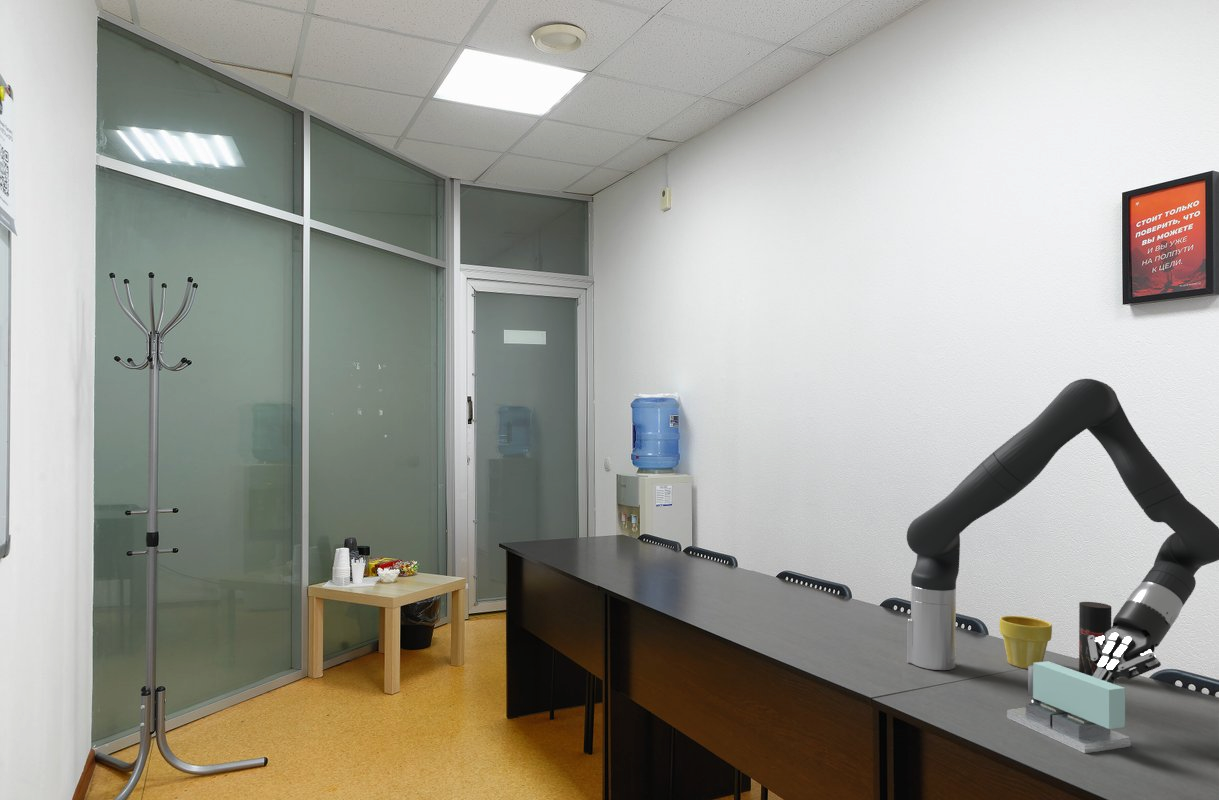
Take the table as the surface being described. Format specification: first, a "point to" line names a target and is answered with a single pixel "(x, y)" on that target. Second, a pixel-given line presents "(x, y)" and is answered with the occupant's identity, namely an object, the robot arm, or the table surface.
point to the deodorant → (1091, 631)
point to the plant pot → (1025, 639)
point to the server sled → (1067, 727)
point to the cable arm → (1078, 694)
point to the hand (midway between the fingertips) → (1096, 689)
